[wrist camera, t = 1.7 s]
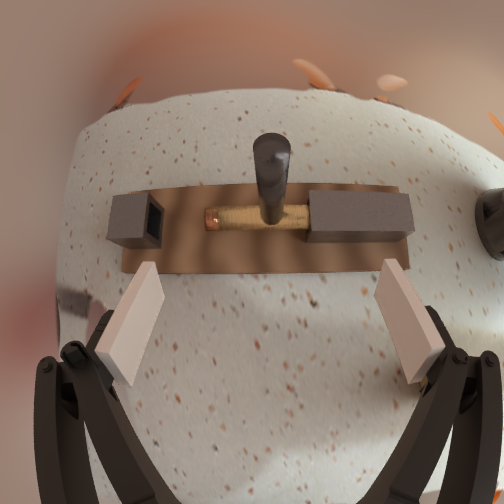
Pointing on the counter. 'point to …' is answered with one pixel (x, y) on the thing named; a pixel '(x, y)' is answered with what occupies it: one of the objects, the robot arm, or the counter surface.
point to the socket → (136, 221)
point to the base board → (252, 237)
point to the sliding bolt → (264, 194)
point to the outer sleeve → (358, 217)
